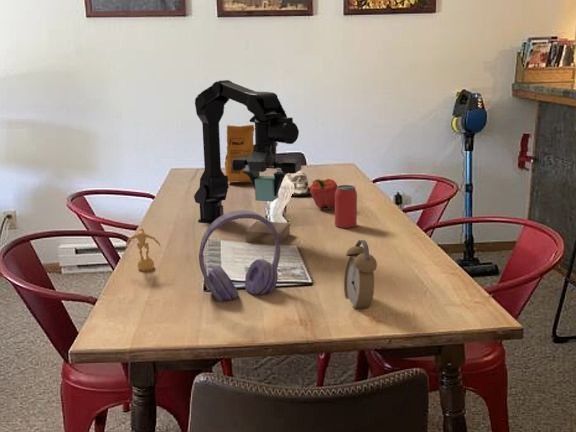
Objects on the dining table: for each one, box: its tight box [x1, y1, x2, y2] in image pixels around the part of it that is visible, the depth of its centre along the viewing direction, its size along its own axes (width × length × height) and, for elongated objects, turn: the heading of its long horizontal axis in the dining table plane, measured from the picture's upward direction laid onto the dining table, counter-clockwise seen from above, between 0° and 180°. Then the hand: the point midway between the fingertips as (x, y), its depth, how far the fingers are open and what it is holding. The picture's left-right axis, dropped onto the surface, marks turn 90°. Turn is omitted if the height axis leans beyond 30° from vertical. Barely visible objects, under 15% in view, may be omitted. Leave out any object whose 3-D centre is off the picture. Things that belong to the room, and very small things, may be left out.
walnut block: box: [245, 220, 291, 246], centre depth 181 cm, size 10×10×4 cm
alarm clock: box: [343, 239, 378, 310], centre depth 134 cm, size 11×5×15 cm, turn 11°
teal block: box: [254, 175, 279, 203], centre depth 177 cm, size 5×5×6 cm
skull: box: [289, 170, 311, 196], centre depth 233 cm, size 12×10×10 cm
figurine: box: [125, 227, 161, 272], centre depth 155 cm, size 8×6×12 cm
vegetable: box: [309, 178, 339, 209], centre depth 213 cm, size 11×10×10 cm
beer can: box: [334, 184, 358, 229], centre depth 191 cm, size 7×7×12 cm
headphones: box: [198, 209, 281, 303], centre depth 139 cm, size 18×8×20 cm, turn 114°
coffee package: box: [224, 124, 255, 183], centre depth 252 cm, size 10×12×22 cm
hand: (266, 195), depth 178 cm, fingers closed on teal block, 5 cm apart
